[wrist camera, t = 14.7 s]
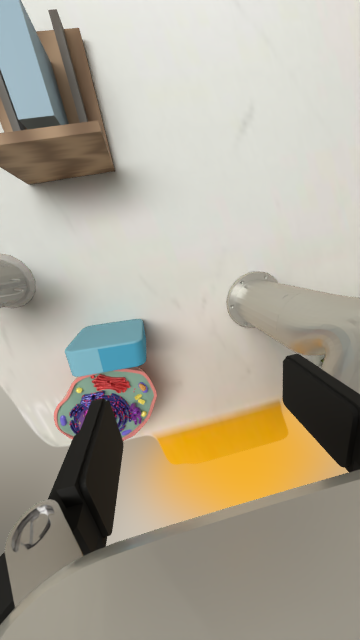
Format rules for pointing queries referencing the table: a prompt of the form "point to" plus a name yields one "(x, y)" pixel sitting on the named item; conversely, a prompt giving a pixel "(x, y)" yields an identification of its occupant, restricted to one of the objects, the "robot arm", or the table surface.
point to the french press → (15, 282)
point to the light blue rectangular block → (28, 70)
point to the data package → (107, 348)
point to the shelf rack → (64, 140)
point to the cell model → (120, 389)
